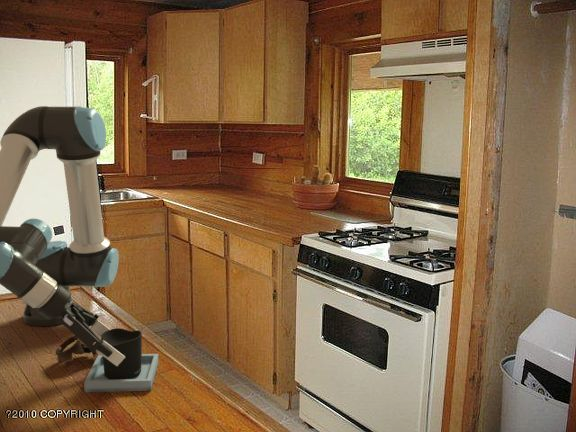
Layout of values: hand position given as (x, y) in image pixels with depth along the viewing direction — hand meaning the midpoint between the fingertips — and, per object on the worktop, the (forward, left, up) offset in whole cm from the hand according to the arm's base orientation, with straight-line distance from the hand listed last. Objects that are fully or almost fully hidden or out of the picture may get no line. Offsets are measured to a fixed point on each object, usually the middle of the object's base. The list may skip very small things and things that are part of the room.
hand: (117, 350), depth 144 cm
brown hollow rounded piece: (-10, -11, -7) cm, 17 cm away
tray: (0, +1, -7) cm, 7 cm away
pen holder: (-1, +1, -7) cm, 7 cm away
